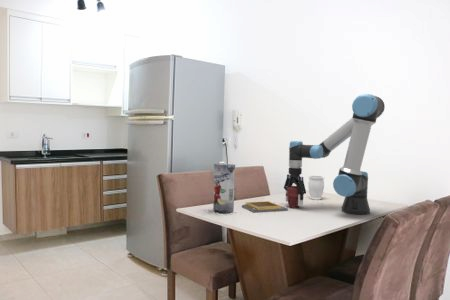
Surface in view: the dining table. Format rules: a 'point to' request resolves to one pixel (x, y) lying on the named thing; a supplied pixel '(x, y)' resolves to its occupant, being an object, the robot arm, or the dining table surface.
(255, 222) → the dining table surface
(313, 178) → the jar
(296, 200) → the mechanical component
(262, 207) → the deck plate
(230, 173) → the juice carton
